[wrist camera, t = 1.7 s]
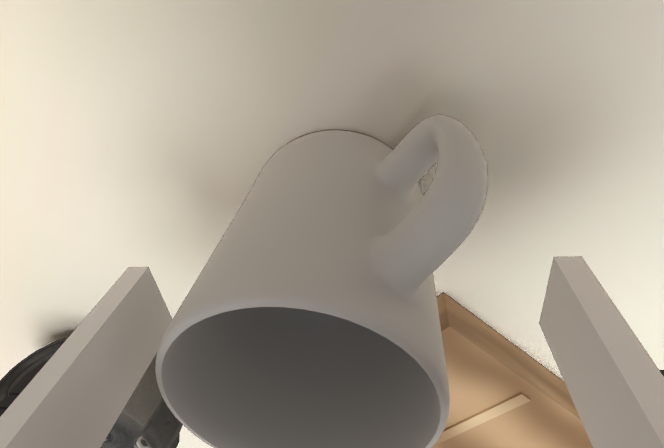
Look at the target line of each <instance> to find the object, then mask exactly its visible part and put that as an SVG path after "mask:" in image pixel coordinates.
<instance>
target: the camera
mask: <svg viewBox="0 0 664 448" xmlns="http://www.w3.org/2000/svg"><path fill="white" fill-rule="evenodd" d="M66 340H67V338H65V339H61V340H58V341H56V342H53V343H51V344H49V345H47V346H45V347H43V348H41V349H39V350H37V351H35V352H34V353H32V354H31V355H29V356H28V357H26V358H25V359H24V360H22V361H21V362H20V363H18V364H17V365H16V366H15V367H13V368H12V369H11V370H10V371H9V372H8V373H7V374H6V375H5V376H4V377H3V378H2V379H1V380H0V402H1V401H2V400H3V399H4V398H5V397H6V396H9V392H10V391H11V390H12V389H13V388H14V386H15V385H16V384H17V383H18V382H19V381H20V380H21V379H22V377H23V376H24V375H26V374H27V373H28V372H29V371H31V370H32V369H33V368H35V367H36V366H37V365H39V364H40V363H41V362H42V361H49V359H50V358H51V357H52V356H53V355H54V354H55V352H56V351H57V350H58V349H59V348H60V347H61V345H62V344H63V343H64V342H65V341H66ZM157 352H158V351H157ZM156 356H157V353H156V355H155V356H154V358H153V360H152V361H151V363H150V365H149V367H148V368H147V370H146V372H145V373H144V375H143V377H142V378H141V380H140V382H139V383H138V385H137V387H136V388H135V390H134V392H133V393H132V395H131V397H130V399H129V400H128V402H127V404H126V405H125V407H124V409H123V410H122V412H121V414H120V415H119V417H118V419H117V420H116V422H115V424H114V425H113V427H112V429H111V431H110V432H109V434H108V436H107V437H106V439H105V441H104V442H103V444H102V446H101V447H100V448H176V447H177V445H178V443H179V432H180V430H181V428H182V425H183V424H182V423H181V422H180V421H179V420H178V419H177V418H176V417H175V416H174V414H173V413H172V412H171V410H170V409H169V407H168V406H167V404H166V403H165V401H164V399H163V397H162V395H161V392H160V389H159V387H158V384H157V379H156V372H155V366H156Z"/></svg>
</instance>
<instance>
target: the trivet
mask: <svg viewBox="0 0 664 448" xmlns="http://www.w3.org/2000/svg"><path fill="white" fill-rule="evenodd" d="M437 305H438V312H439V319H440V326H441V333H442V340H443V347H444V354H445V361H446V368H447V375H448V383H449V392H450V406H449V416H448V419H447V422H446V426H445V429H444V431H443V432H442V434H441V436H440V437H439V439H438V440H437V442H436V443H435V444H434V445H433V446H432V447H431V448H593V447H592V444H591V442H590V440H589V437H588V435H587V433H586V430H585V428H584V426H583V423H582V421H581V419H580V417H579V414H578V412H577V410H576V407H575V405H574V403H573V400H572V398H571V396H570V393H569V391H568V389H567V387H566V384H565V382H564V381H562V380H561V379H560V378H558V377H557V376H556V375H554V374H553V373H552V372H550V371H549V370H548V369H546V368H545V367H543V366H542V365H541V364H539V363H538V362H537V361H535V360H534V359H533V358H531V357H530V356H529V355H527V354H526V353H525V352H523V351H522V350H521V349H519V348H518V347H516V346H515V345H514V344H512V343H511V342H510V341H508V340H507V339H506V338H504V337H503V336H502V335H500V334H499V333H498V332H496V331H495V330H493V329H492V328H491V327H489V326H488V325H487V324H485V323H484V322H483V321H481V320H480V319H479V318H477V317H476V316H475V315H473V314H472V313H471V312H469V311H468V310H466V309H465V308H464V307H462V306H461V305H460V304H458V303H457V302H456V301H454V300H453V299H452V298H450V297H449V296H448V295H446V294H445V293H443V294H441V295H440V296H439V297H437Z"/></svg>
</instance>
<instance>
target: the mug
mask: <svg viewBox="0 0 664 448" xmlns="http://www.w3.org/2000/svg"><path fill="white" fill-rule="evenodd" d="M436 162H438V165H437V169H436V172H435V175H434V178H433V180H432V182H431V184H430V186H429V188H428V190H427V191H426V193H425V194H424V196H423V194H422V191H421V188H420V185H419V183H418V181H419V180H420V179H421V178H422V177H423V176H424V174H425V173H426V172H427V171H428V170H429V169H430V168H431V167H432V166H433V165H434V164H435V163H436ZM487 189H488V170H487V165H486V159H485V157H484V154H483V151H482V149H481V147H480V145H479V143H478V141H477V140H476V138H475V136H474V135H473V134H472V133H471V132H470V130H469V129H468V128H467V127H465V126H464V125H463V124H462V123H461V122H459V121H458V120H456V119H454V118H452V117H449V116H445V115H441V114H439V115H433V116H430V117H428V118H426V119H424V120H423V121H421V122H420V123H419V124H418V125H416V126H415V127H414V128H413V129H412V130H411V131H410V132H409V133H408V134H407V135H406V136H405V137H404V138H403V139H402V141H401V142H400V143H399V144H398V145H397V146H396V147H395V148H394V150H392V149H391V148H390V147H388V146H387V145H385V144H384V143H382V142H380V141H378V140H376V139H374V138H372V137H369V136H366V135H363V134H360V133H355V132H350V131H340V130H329V131H320V132H315V133H310V134H308V135H305V136H302V137H299V138H297V139H295V140H293V141H291V142H289V143H288V144H286V145H285V146H283V147H282V148H281V149H279V150H278V151H277V152H276V153H275V154H274V155H273V156H272V157H271V158H270V160H269V161H268V162H267V163H266V165H265V166H264V167H263V169H262V170H261V172H260V174H259V176H258V177H257V179H256V181H255V183H254V185H253V186H252V188H251V190H250V192H249V194H248V196H247V197H246V199H245V201H244V202H243V204H242V206H241V207H240V209H239V211H238V212H237V214H236V216H235V217H234V219H233V221H232V222H231V224H230V225H229V227H228V229H227V230H226V232H225V234H224V235H223V237H222V239H221V240H220V242H219V244H218V245H217V247H216V249H215V250H214V252H213V254H212V255H211V257H210V258H209V260H208V262H207V263H206V265H205V267H204V268H203V270H202V272H201V273H200V275H199V277H198V278H197V280H196V282H195V283H194V285H193V286H192V288H191V290H190V291H189V293H188V295H187V296H186V298H185V300H184V301H183V303H182V305H181V306H180V308H179V310H178V311H177V313H176V315H175V316H174V318H173V320H172V321H171V323H170V325H169V327H168V329H167V330H166V332H165V334H164V336H163V338H162V340H161V343H160V345H159V349H158V352H157V356H156V366H155V372H156V379H157V384H158V387H159V389H160V392H161V395H162V397H163V399H164V401H165V403H166V404H167V406H168V407H169V409H170V410H171V412H172V413H173V414H174V416H175V417H176V418H177V419H178V420H179V421H180V422H181V423H182V424H183V425H184V426H185V427H186V428H187V429H188V430H189V431H191V432H192V433H193V434H194V435H195V436H197V437H198V438H200V439H201V440H202V441H204V442H205V443H207V444H208V445H210V446H212V447H213V448H431V447H432V446H433V445H434V444H435V443H436V442H437V440H438V439H439V437H440V436H441V434H442V432H443V431H444V429H445V426H446V422H447V419H448V416H449V406H450V392H449V383H448V375H447V368H446V361H445V354H444V347H443V340H442V333H441V326H440V319H439V312H438V305H437V298H436V291H435V284H434V277H433V272H434V271H435V270H436V269H437V268H438V267H439V266H440V265H441V264H442V263H443V262H444V261H445V260H446V259H447V258H448V257H449V256H450V255H451V254H452V253H453V252H454V251H455V250H456V249H457V248H458V247H459V246H460V245H461V243H462V242H463V241H464V240H465V238H466V237H467V236H468V235H469V233H470V232H471V230H472V229H473V227H474V226H475V224H476V222H477V221H478V219H479V216H480V214H481V212H482V210H483V207H484V204H485V200H486V194H487Z"/></svg>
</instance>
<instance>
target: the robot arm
mask: <svg viewBox="0 0 664 448" xmlns="http://www.w3.org/2000/svg"><path fill="white" fill-rule="evenodd" d="M171 321H172V317H171V315H170V313H169V311H168V309H167V306H166V304H165V302H164V300H163V298H162V295H161V293H160V291H159V289H158V287H157V284H156V282H155V280H154V278H153V276H152V274H151V271H150V269H149V267H128V268H127V270H126V271H125V272H124V273H123V274H122V275H121V277H120V278H119V279H118V280H117V281H116V282H115V284H114V285H113V286H112V287H111V288H110V289H109V291H108V292H107V293H106V294H105V295H104V296H103V298H102V299H101V300H100V301H99V302H98V303H97V305H96V306H95V307H94V308H93V309H92V310H91V312H90V313H89V314H88V315H87V316H86V317H85V319H84V320H83V321H82V322H81V323H80V324H79V326H78V327H77V328H76V329H75V330H74V331H73V333H72V334H71V335H70V336H69V337H68V338H67V340H66V341H65V342H64V343H63V344H62V345H61V347H60V348H59V349H58V350H57V351H56V352H55V354H54V355H53V356H52V357H51V358H50V359H49V361H42V362H41V363H40V364H39V365H37V366H36V367H35V368H33V369H32V370H31V371H29V372H28V373H27V374H26V375H24V376H23V377H22V379H21V380H20V381H19V382H18V383H17V384H16V385H15V386H14V388H13V389H12V390H11V391H10V392H9V396H6V397H5V398H4V399H3V400H2V401H1V402H0V448H100V447H101V446H102V444H103V442H104V441H105V439H106V437H107V436H108V434H109V432H110V431H111V429H112V427H113V425H114V424H115V422H116V420H117V419H118V417H119V415H120V414H121V412H122V410H123V409H124V407H125V405H126V404H127V402H128V400H129V399H130V397H131V395H132V393H133V392H134V390H135V388H136V387H137V385H138V383H139V382H140V380H141V378H142V377H143V375H144V373H145V372H146V370H147V368H148V367H149V365H150V363H151V361H152V360H153V358H154V356H155V355H156V353H157V351H158V349H159V345H160V343H161V340H162V338H163V336H164V334H165V332H166V330H167V329H168V327H169V325H170V323H171ZM539 324H540V326H541V329H542V331H543V333H544V336H545V338H546V340H547V343H548V345H549V347H550V350H551V352H552V354H553V357H554V359H555V361H556V363H557V366H558V368H559V370H560V373H561V375H562V377H563V380H564V382H565V384H566V387H567V389H568V391H569V393H570V396H571V398H572V400H573V403H574V405H575V407H576V410H577V412H578V414H579V417H580V419H581V421H582V423H583V426H584V428H585V430H586V433H587V435H588V437H589V440H590V442H591V444H592V447H593V448H664V370H659V369H658V368H657V366H656V365H655V363H654V362H653V360H652V359H651V357H650V356H649V354H648V353H647V351H646V350H645V349H644V347H643V346H642V344H641V343H640V341H639V340H638V338H637V337H636V335H635V334H634V332H633V331H632V329H631V328H630V327H629V325H628V324H627V322H626V321H625V319H624V318H623V316H622V315H621V313H620V312H619V310H618V309H617V307H616V306H615V305H614V303H613V302H612V300H611V299H610V297H609V296H608V294H607V293H606V291H605V290H604V288H603V287H602V285H601V284H600V282H599V281H598V280H597V278H596V277H595V275H594V274H593V272H592V271H591V269H590V268H589V266H588V265H587V263H586V262H585V260H584V259H583V258H582V256H575V257H554V258H553V262H552V267H551V271H550V276H549V280H548V285H547V290H546V294H545V299H544V303H543V308H542V312H541V317H540V321H539Z"/></svg>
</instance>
